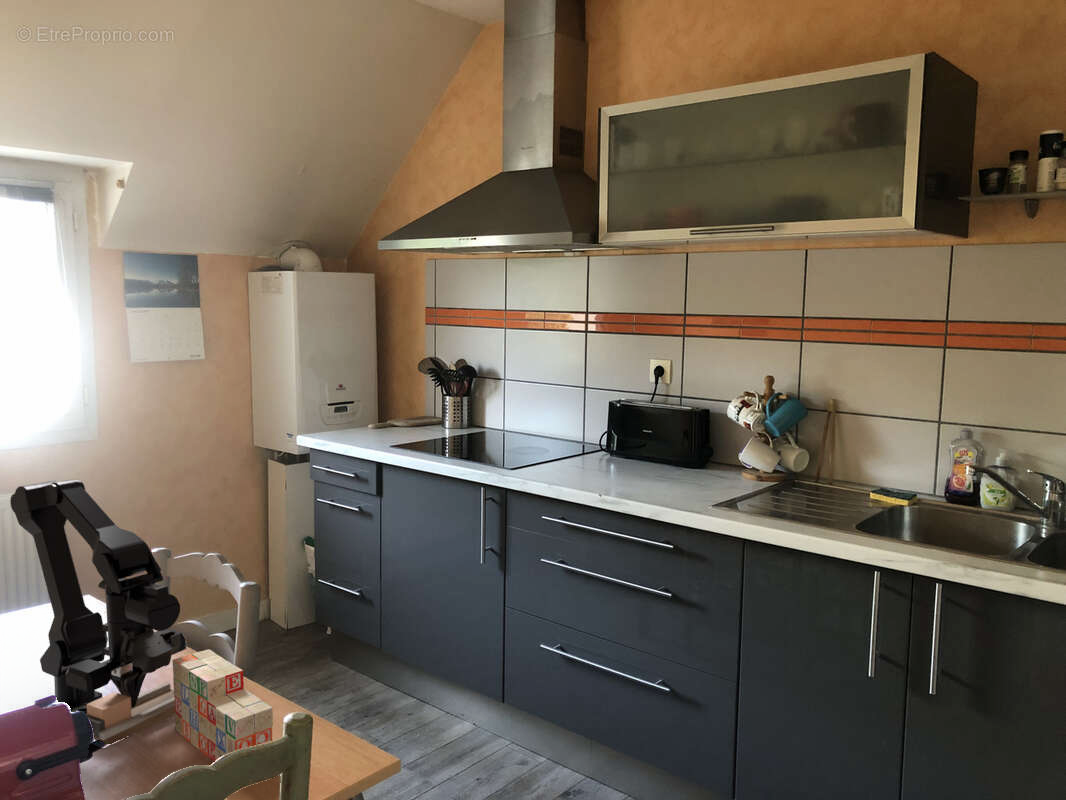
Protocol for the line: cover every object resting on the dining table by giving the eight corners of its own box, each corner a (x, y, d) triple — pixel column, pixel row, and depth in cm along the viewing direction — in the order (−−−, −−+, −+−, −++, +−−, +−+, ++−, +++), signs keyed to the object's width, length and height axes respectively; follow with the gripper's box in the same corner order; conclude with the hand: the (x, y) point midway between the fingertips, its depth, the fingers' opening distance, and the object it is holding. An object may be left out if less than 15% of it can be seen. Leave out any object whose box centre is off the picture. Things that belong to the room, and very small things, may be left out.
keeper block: (87, 728, 136) (86, 704, 136) (115, 715, 141) (114, 692, 140) (103, 734, 135) (102, 709, 134) (131, 720, 139) (130, 697, 138)
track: (75, 738, 136) (74, 714, 136) (166, 695, 151) (166, 674, 151) (103, 749, 133) (103, 724, 133) (194, 704, 148) (193, 682, 148)
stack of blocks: (274, 765, 129) (272, 688, 128) (235, 781, 125) (233, 701, 124) (210, 717, 144) (209, 647, 143) (174, 729, 140) (171, 657, 138)
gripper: (107, 647, 127) (113, 745, 129) (207, 606, 144) (211, 694, 146) (60, 633, 132) (67, 728, 134) (161, 595, 149) (166, 680, 151)
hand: (131, 707), depth 141 cm, fingers closed
